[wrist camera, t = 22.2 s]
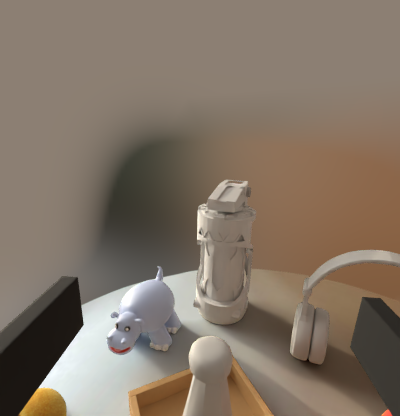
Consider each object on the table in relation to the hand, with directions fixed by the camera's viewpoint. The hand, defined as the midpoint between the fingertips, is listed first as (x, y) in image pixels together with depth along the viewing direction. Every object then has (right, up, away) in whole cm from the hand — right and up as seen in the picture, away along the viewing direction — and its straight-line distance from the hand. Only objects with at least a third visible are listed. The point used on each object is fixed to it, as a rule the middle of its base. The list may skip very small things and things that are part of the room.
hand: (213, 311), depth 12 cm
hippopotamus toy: (-10, -18, +32) cm, 38 cm away
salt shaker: (0, -21, +16) cm, 27 cm away
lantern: (+4, -15, +40) cm, 43 cm away
